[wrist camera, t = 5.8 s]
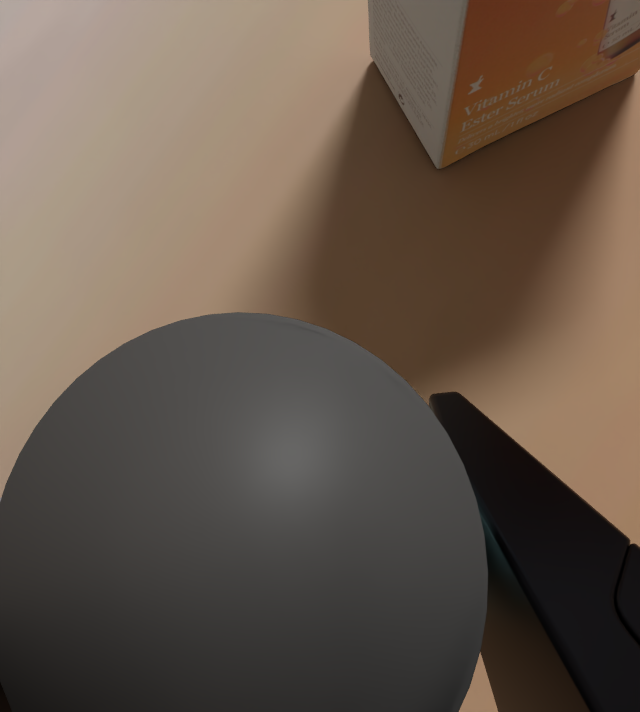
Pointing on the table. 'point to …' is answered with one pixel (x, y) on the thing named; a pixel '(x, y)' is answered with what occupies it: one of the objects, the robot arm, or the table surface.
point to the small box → (497, 62)
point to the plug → (240, 533)
